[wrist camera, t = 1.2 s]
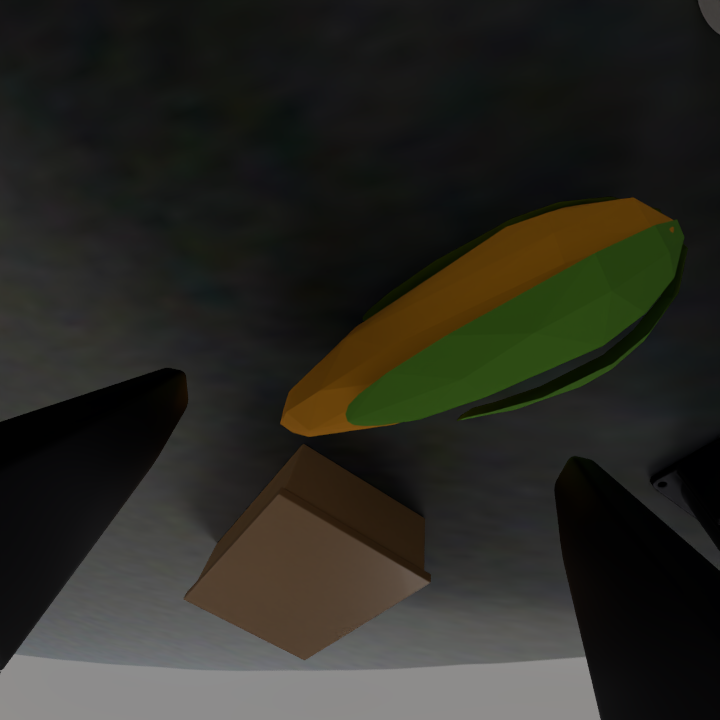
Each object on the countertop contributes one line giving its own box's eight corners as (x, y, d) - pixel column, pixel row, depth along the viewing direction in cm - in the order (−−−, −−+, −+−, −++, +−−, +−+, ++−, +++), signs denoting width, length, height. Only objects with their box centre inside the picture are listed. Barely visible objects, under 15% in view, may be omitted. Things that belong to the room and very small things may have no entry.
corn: (783, 358, 12) (303, 529, 20) (664, 290, 19) (338, 438, 27) (709, 137, 10) (208, 421, 18) (605, 148, 17) (272, 352, 25)
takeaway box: (301, 438, 28) (278, 493, 23) (431, 518, 30) (431, 582, 25) (212, 543, 36) (182, 599, 31) (318, 601, 38) (304, 660, 33)
